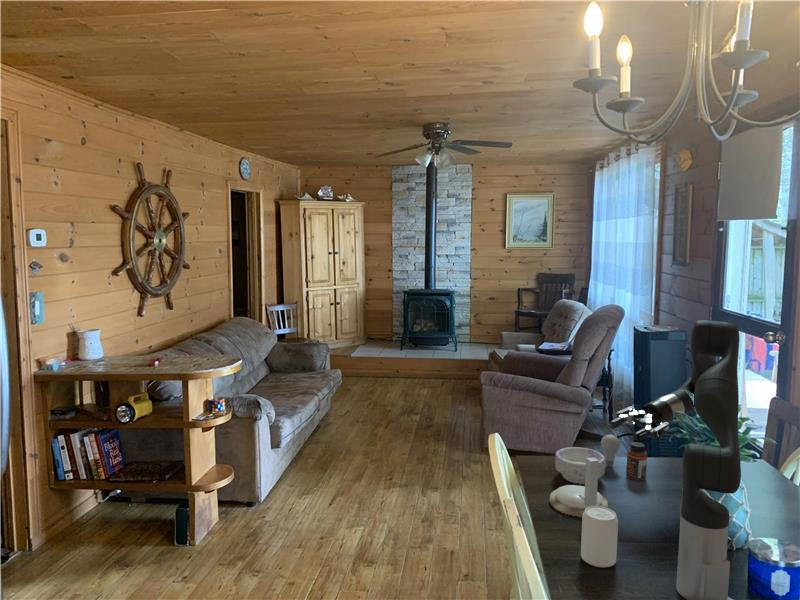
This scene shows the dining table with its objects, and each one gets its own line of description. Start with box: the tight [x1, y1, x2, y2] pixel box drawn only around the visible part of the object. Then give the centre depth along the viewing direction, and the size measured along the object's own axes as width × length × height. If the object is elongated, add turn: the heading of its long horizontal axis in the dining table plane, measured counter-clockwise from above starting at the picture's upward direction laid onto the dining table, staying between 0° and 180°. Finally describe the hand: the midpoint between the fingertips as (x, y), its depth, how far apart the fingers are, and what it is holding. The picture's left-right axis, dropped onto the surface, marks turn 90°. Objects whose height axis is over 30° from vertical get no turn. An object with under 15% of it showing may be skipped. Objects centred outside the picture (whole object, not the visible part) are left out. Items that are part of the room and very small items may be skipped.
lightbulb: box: [600, 434, 621, 468], centre depth 195 cm, size 6×6×11 cm
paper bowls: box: [554, 446, 606, 485], centre depth 186 cm, size 15×15×8 cm
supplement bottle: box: [625, 441, 648, 482], centre depth 186 cm, size 6×6×11 cm
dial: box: [555, 458, 603, 509], centre depth 167 cm, size 14×13×14 cm
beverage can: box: [580, 506, 619, 568], centre depth 139 cm, size 8×8×12 cm
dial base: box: [549, 489, 609, 518], centre depth 169 cm, size 16×16×2 cm
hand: (623, 431), depth 164 cm, fingers open, 8 cm apart
